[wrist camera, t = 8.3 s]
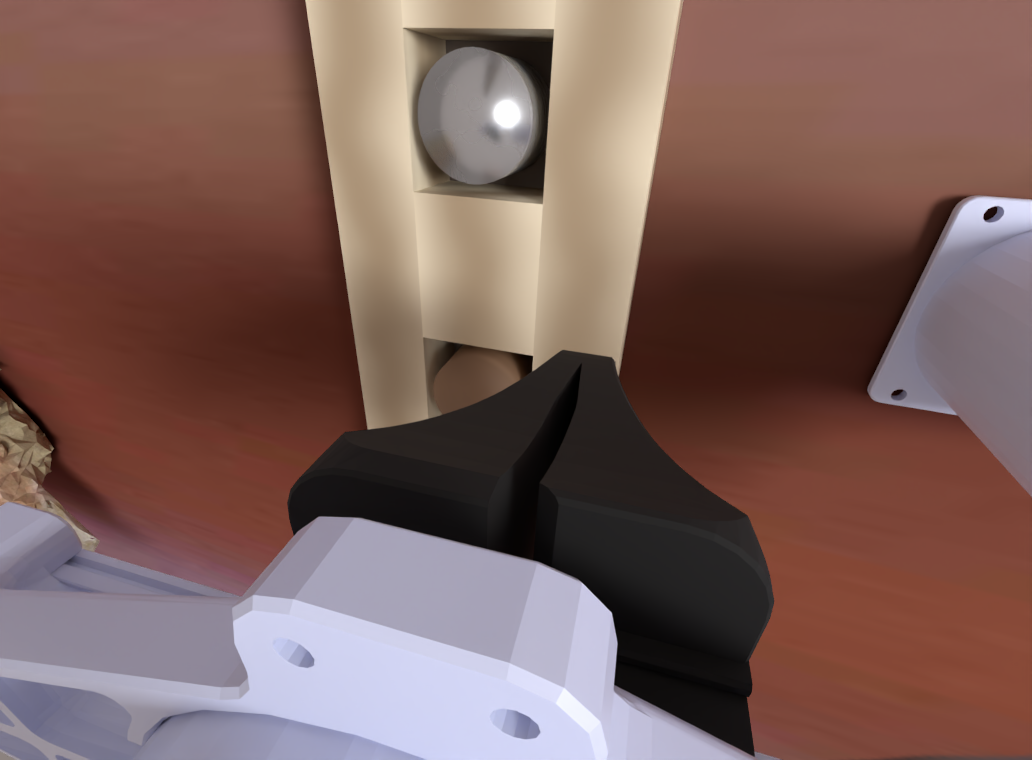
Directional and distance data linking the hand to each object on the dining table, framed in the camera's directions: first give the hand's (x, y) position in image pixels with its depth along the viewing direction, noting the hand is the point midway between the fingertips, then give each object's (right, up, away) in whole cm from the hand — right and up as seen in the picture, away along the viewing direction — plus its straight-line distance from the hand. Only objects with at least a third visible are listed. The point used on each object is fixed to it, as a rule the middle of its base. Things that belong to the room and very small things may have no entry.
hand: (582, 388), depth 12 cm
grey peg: (-2, +10, +7) cm, 13 cm away
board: (-2, +6, +10) cm, 12 cm away
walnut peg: (-3, +1, +12) cm, 13 cm away
